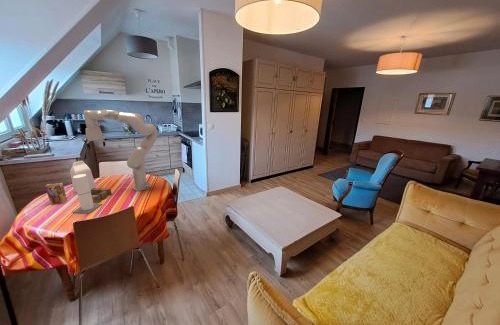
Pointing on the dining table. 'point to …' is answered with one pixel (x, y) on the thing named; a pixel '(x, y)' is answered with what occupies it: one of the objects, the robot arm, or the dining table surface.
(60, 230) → the dining table surface
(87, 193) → the cylindrical container
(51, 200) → the candy box
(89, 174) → the milk
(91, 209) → the mat
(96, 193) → the collar
